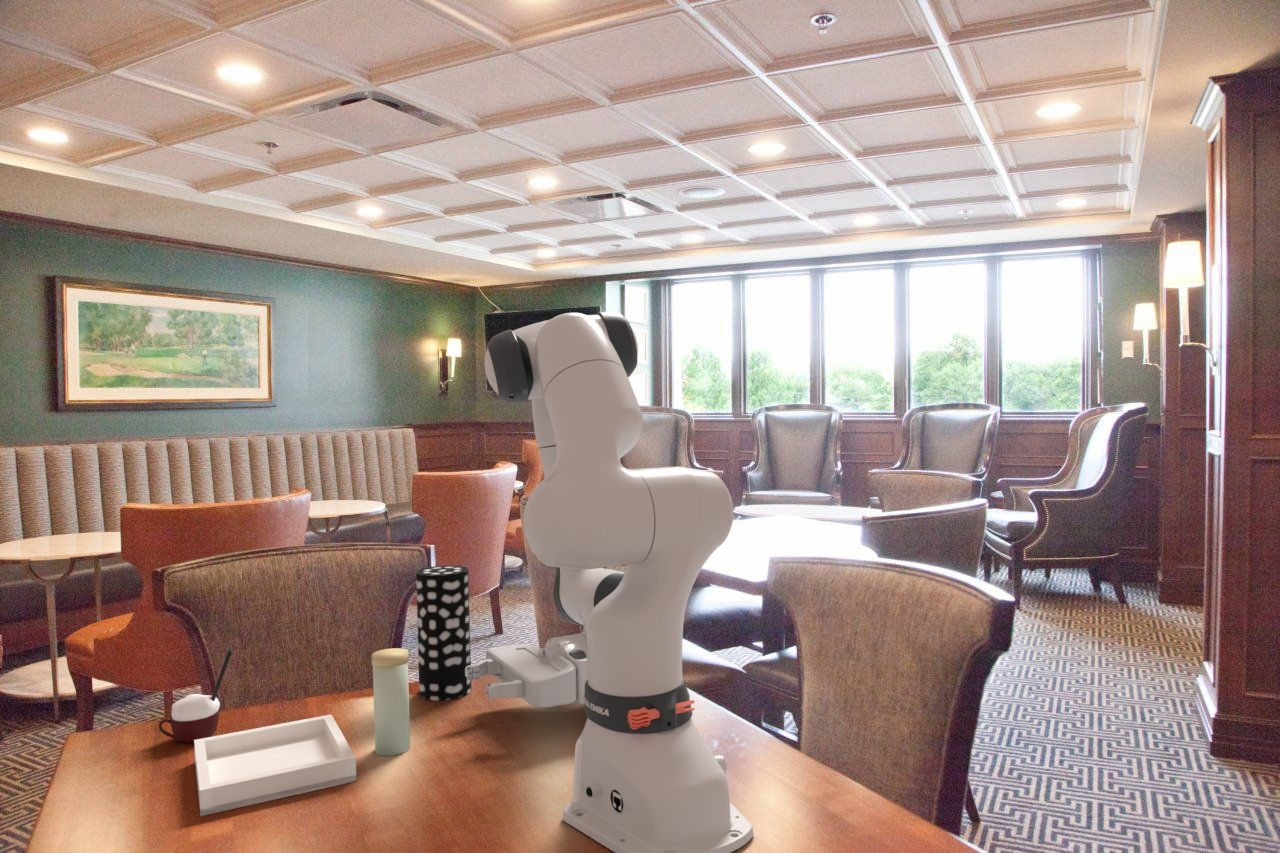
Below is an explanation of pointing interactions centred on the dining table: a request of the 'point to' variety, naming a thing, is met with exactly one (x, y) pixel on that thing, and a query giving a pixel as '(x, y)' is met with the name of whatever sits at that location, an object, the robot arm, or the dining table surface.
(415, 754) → the dining table surface
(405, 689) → the tea tin
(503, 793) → the dining table surface
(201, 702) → the cocoa
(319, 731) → the dish
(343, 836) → the dining table surface
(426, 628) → the spotted tube
